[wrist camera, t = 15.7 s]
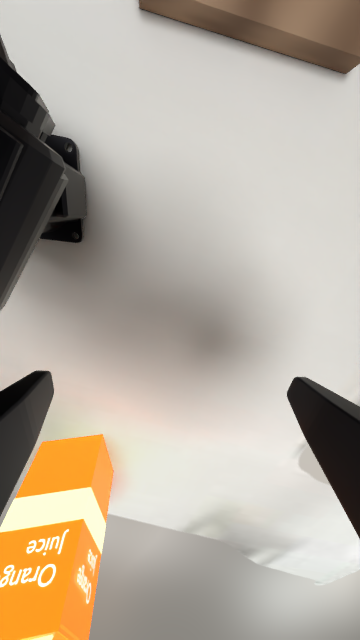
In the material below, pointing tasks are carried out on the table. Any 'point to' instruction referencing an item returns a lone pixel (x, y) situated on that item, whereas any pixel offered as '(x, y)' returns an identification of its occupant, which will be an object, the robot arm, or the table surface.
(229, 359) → the table surface
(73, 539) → the orange juice
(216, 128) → the table surface
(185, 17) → the walnut board
